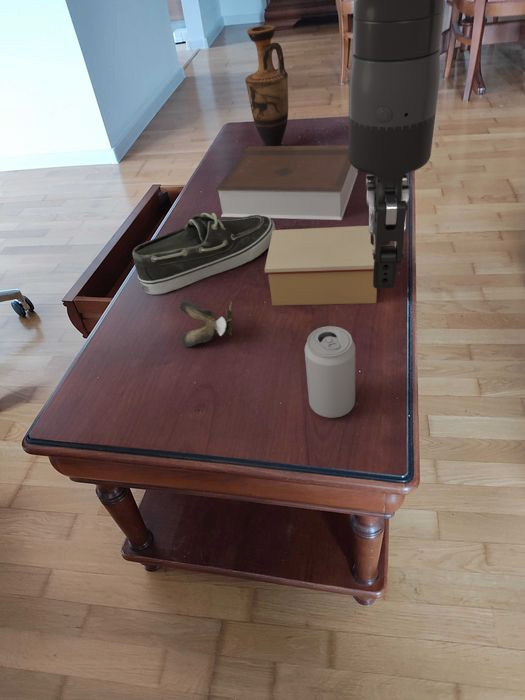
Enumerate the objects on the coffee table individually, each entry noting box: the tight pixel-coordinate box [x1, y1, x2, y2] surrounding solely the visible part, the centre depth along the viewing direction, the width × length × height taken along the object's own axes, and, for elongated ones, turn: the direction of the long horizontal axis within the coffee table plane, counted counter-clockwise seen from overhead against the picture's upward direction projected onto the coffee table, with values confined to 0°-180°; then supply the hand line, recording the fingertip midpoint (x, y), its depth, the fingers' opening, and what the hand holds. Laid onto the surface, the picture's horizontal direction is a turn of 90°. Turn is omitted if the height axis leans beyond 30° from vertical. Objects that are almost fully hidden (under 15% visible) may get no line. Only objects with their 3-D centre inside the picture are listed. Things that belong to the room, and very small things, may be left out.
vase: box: [244, 24, 289, 146], centre depth 133 cm, size 11×11×30 cm
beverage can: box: [304, 325, 356, 419], centre depth 68 cm, size 6×6×12 cm
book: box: [215, 144, 359, 221], centre depth 121 cm, size 24×28×6 cm
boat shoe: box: [132, 212, 277, 295], centre depth 100 cm, size 11×31×10 cm, turn 125°
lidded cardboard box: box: [264, 225, 378, 306], centre depth 91 cm, size 19×13×8 cm
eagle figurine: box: [178, 300, 234, 348], centre depth 85 cm, size 8×7×9 cm
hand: (381, 263), depth 56 cm, fingers open, 8 cm apart
